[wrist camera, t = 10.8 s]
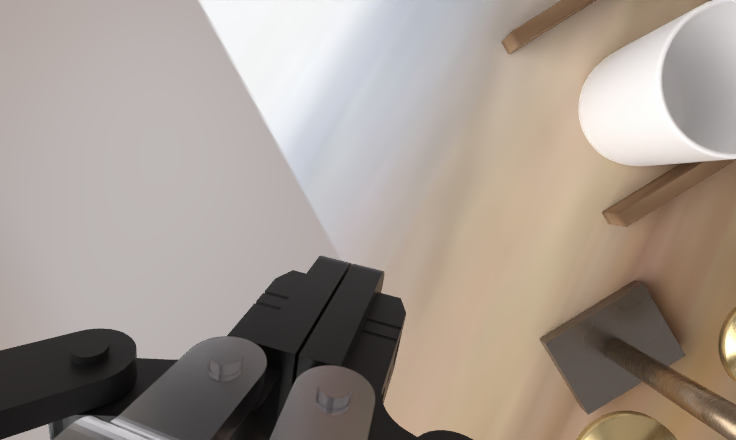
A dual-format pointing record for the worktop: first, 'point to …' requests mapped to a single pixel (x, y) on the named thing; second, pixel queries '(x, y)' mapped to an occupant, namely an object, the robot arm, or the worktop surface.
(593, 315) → the balance
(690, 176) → the tray frame
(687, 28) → the mug
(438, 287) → the worktop surface
